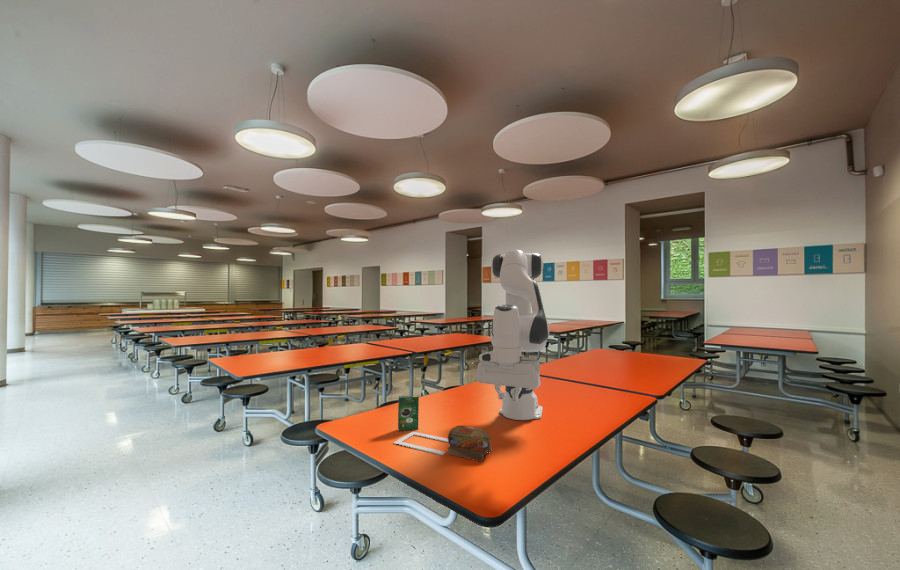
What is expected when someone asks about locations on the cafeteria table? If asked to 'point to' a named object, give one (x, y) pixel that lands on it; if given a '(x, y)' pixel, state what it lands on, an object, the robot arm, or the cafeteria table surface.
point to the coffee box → (408, 412)
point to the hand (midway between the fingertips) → (508, 399)
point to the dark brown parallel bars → (466, 453)
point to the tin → (470, 439)
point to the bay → (421, 446)
